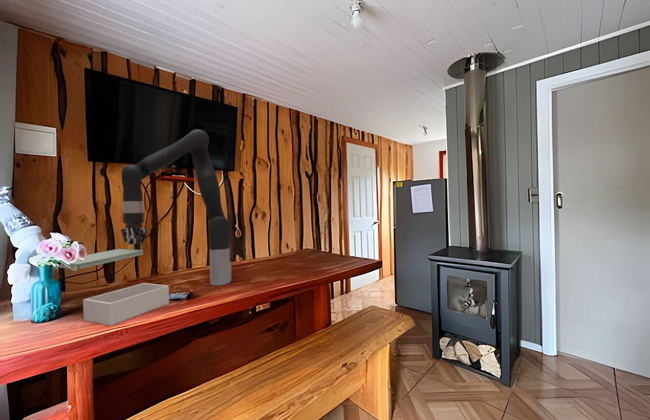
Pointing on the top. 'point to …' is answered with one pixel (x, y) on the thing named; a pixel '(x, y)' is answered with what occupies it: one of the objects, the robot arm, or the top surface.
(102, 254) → the lid
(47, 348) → the top surface
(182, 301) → the top surface
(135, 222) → the robot arm
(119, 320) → the tub
